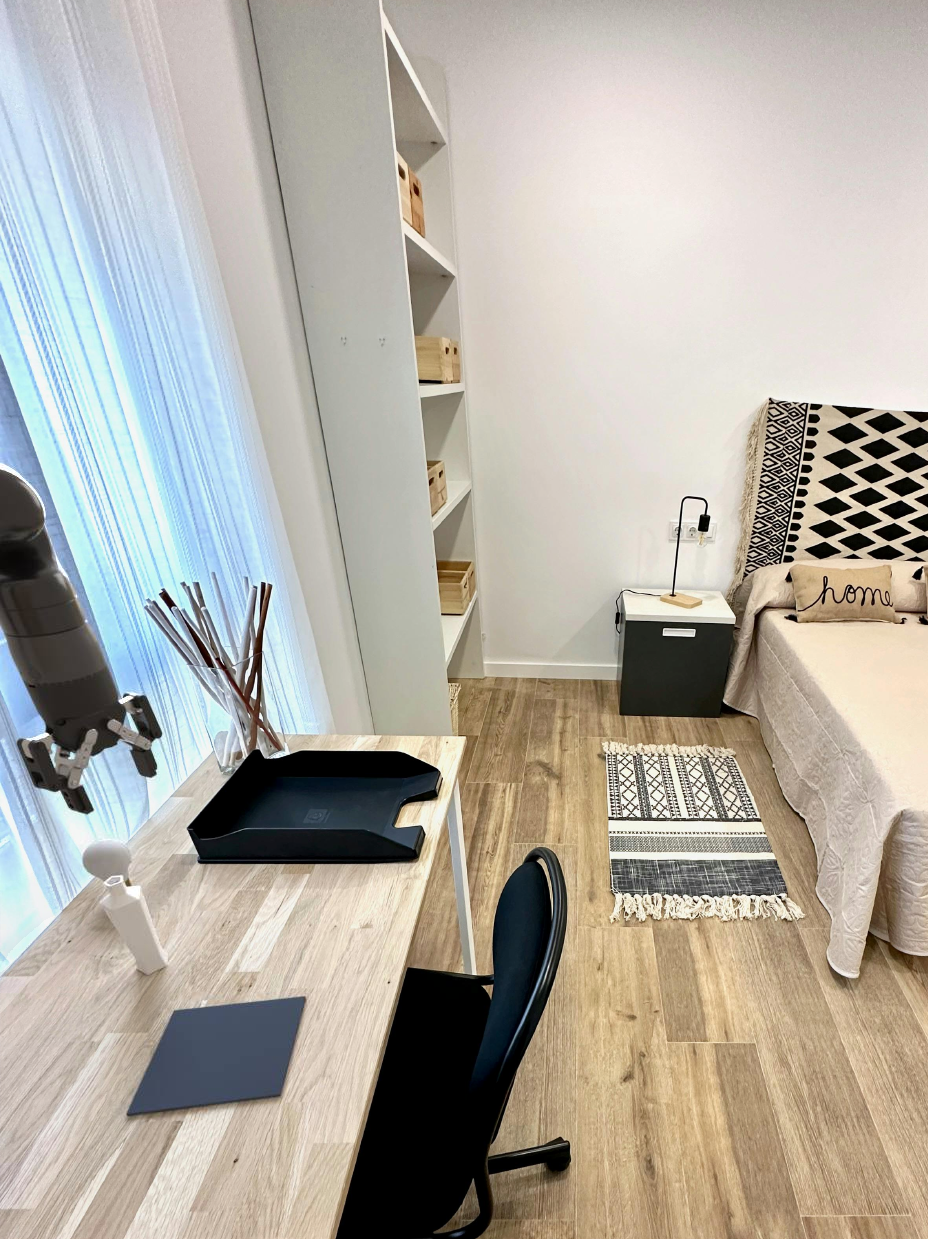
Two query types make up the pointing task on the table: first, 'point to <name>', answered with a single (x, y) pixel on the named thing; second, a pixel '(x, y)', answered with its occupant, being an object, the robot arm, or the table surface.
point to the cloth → (220, 1056)
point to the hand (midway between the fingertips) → (118, 793)
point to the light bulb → (107, 859)
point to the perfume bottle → (134, 924)
